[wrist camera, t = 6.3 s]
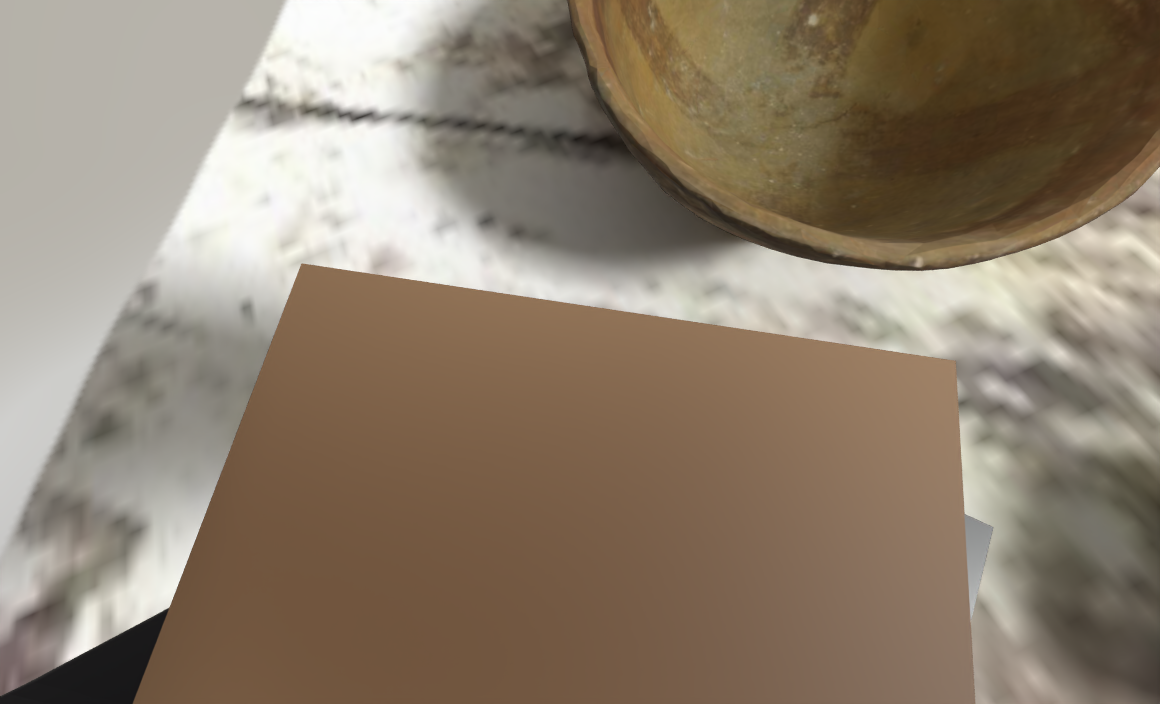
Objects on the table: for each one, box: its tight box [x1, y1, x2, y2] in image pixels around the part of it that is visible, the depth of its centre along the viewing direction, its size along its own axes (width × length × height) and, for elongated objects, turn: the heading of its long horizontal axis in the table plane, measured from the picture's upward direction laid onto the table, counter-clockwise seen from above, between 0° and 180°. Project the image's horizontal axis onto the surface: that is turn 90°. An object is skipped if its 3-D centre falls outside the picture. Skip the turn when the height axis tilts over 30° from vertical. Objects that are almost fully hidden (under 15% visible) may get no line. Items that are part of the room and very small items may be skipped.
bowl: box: [567, 0, 1160, 271], centre depth 22 cm, size 22×23×10 cm
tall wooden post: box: [133, 264, 975, 704], centre depth 9 cm, size 4×4×13 cm
